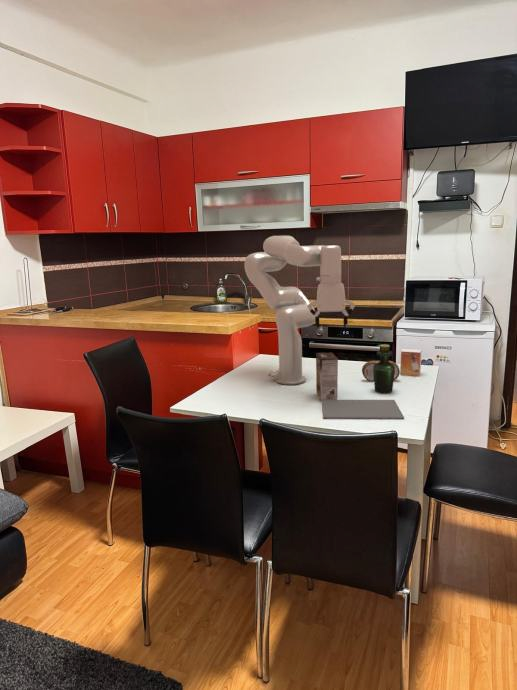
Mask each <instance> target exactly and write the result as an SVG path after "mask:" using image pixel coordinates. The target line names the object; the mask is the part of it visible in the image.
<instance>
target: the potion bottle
mask: <svg viewBox="0 0 517 690" xmlns="http://www.w3.org/2000/svg"><path fill="white" fill-rule="evenodd" d="M390 347H391V346H390V344H386V343H385V344H379V350H377V352H376V355H377V356H378V357H379V361H380V362H378V363H376V364H375V365H374V366H373V371H374V381H373V383H374V385H373V386H374V391H375V393H378V394H385V395H386V394H391V393H392V392H393V388H394V381H395V380H394V373H395V367H394V365H393V364H392V363H390V362H388V361H390V357H391V356H393V352H392V351H391V350H390Z"/></svg>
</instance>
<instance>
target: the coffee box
mask: <svg viewBox="0 0 517 690" xmlns="http://www.w3.org/2000/svg"><path fill="white" fill-rule="evenodd" d="M338 364H339V358H338V356H336V355H335V354H334V353H333V352H316V353H315V368H316V370H315V372H316V373H315V376H316V380H315V381H316V382H315V383H316V385H315V386H316V389H315V390H316V391H315V392H316V395H317V396H318V398H319V401H320V402H322V400H338V373H339V369H338V367H339V365H338Z"/></svg>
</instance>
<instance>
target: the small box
mask: <svg viewBox="0 0 517 690" xmlns="http://www.w3.org/2000/svg"><path fill="white" fill-rule="evenodd" d="M421 366H422V349H411V348H409V349H408V348H402V349H401V352H400V367H399V370H400V373H399V376H411V377H420V375H421V368H422V367H421Z"/></svg>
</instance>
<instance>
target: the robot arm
mask: <svg viewBox="0 0 517 690" xmlns="http://www.w3.org/2000/svg"><path fill="white" fill-rule="evenodd" d="M262 244H263V245H262V248H263V250H264V251H259V252H254V253H253V252H252V253H250V254H248V255H247V256H246V257H245V259H244V271H245V274H246V276H247V278H248V280H249V282H251V284H252V285H253V286H254V287H255V288H256V290H257V291H258V292H259V294H260V295H261V297H262V298H263V300H264V301H265V302H266V303H267V305H268V306H269V308H270V309H271V310H273V311H276V314H275V323H276V327H277V336H278V338H277V339H278V367H279V368H278V370H275V371H273V370H272V371H271V370H270V371H268V376H269V377H271V378H272V377H273V378H274V377H275V382H276V383H278V384H280V385H284V386H286V385H287V386H292V385H295V386H296V385H300V384H301V385H302V384H304V383H305V382H306V381H307V378H306V376H304V375H303V348H302V347H303V343H302V342H303V341H302V336H301V333H299V330H298V329H302V328H307V327H310V326H313V325H315V326H316V327H317V328H320V313H334V312H335V313H336V312H337V313H338V312H341V313H342V314H343V328H346V326H347V325H348V323H349V321H348V316H349V315H350V314H352V312H353V310H354V308H355V306H356V303H355V302H353V301H350V300H348V299H346V293H345V285H344V283H342V248H341V246H340V245H335V244H334V245H333V244H332V245H322V244H321V245H319V244H318V245H300V242H299V241H298V240H296V239H295V238H294V236H291V235H272V236H269V237H267V238H266V239H265V240H264V241H263V243H262ZM287 264H289V265H291V266H297V267H300V268H301V267H302V268H304V267H305V268H308V267H319V268H320V269H319V270H320V271H319V275H320V276H318V277H316V279H315V280H316V282H319V284H318V286H317V291H316V292H317V293H316V300H314V301H312V302H310V301H309V299H308V297H307V296H306V295H305V294H304V293H303V291H302V290H301V289H299V288H298V287H296V286H281V285H280V284H279V283H278V281H277V280H276V279H275V278H274V277H273V276H272V275H270V274H268V272H269V273H270V272H278V271H281V270H282V269H283V268H284V267H285V266H286V265H287ZM346 304H347V305H349V308H348V309H347V310H346ZM314 306H316V308H317V310H315V308H314ZM314 323H315V324H314Z"/></svg>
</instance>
